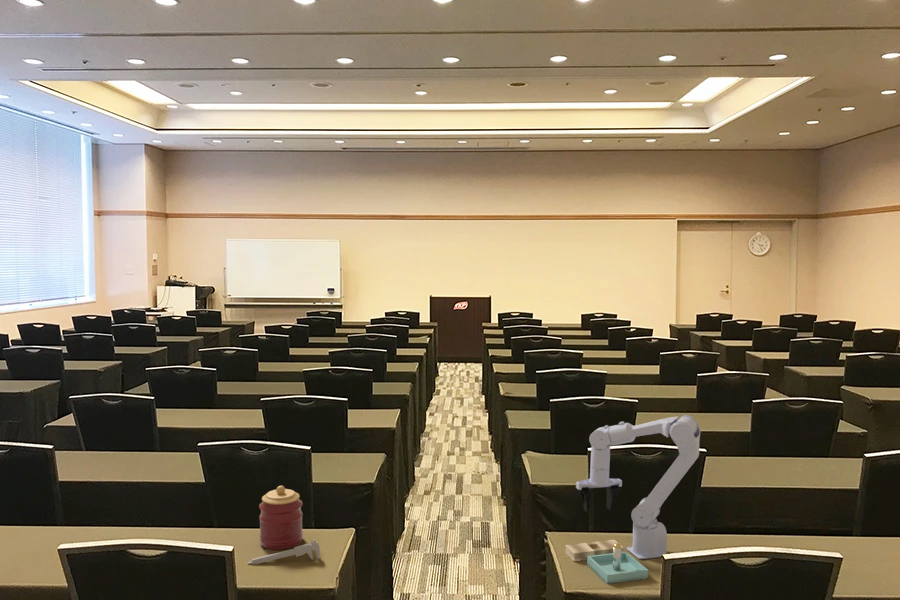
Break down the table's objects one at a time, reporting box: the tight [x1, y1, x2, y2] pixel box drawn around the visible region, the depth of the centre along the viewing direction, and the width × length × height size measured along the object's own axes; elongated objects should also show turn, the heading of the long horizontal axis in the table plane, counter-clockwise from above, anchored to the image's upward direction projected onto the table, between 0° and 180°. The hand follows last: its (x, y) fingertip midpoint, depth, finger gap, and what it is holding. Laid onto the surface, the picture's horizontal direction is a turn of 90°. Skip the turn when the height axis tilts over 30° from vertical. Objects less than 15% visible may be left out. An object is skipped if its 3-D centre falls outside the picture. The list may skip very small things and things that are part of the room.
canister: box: [258, 485, 304, 550], centre depth 230 cm, size 13×13×18 cm
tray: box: [586, 551, 649, 585], centre depth 211 cm, size 12×12×2 cm
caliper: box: [247, 538, 321, 565], centre depth 217 cm, size 21×1×6 cm, turn 101°
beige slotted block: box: [564, 539, 625, 562], centre depth 222 cm, size 16×6×2 cm, turn 106°
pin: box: [613, 542, 622, 571], centre depth 211 cm, size 2×2×8 cm
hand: (597, 510), depth 230 cm, fingers open, 7 cm apart
